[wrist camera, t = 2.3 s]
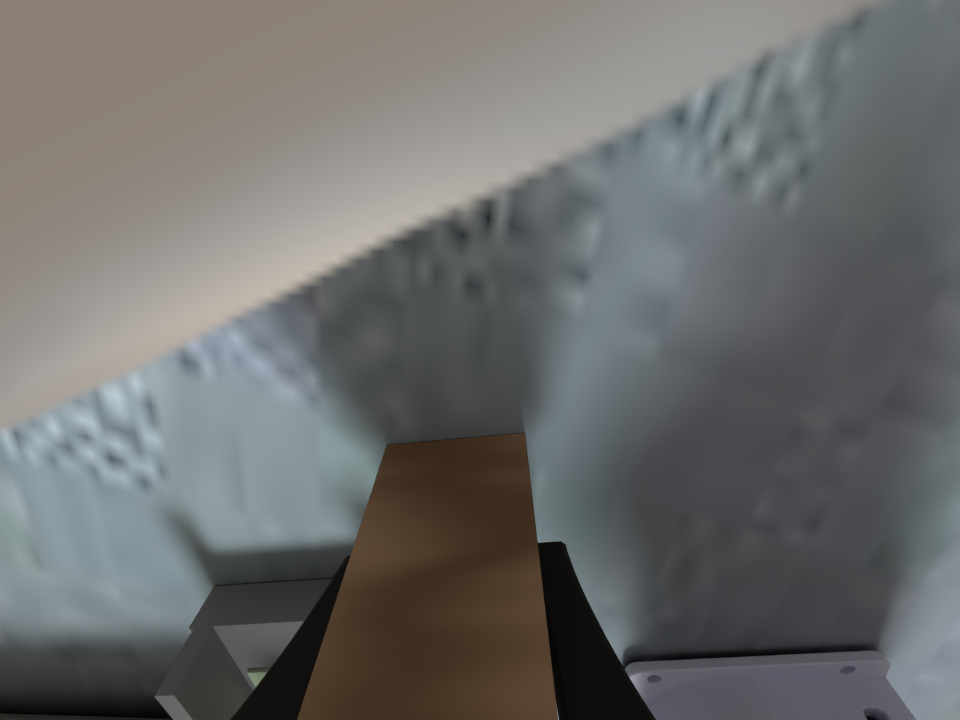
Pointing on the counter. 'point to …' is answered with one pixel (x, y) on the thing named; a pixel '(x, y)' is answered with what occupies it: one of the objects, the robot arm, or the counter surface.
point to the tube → (66, 717)
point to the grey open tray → (235, 646)
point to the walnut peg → (441, 594)
